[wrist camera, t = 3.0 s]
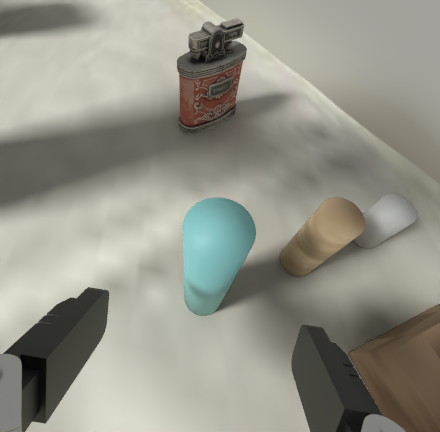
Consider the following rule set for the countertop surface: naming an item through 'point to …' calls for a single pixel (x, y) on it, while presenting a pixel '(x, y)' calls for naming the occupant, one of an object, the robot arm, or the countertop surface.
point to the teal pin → (214, 251)
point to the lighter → (210, 76)
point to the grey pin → (386, 220)
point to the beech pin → (322, 236)
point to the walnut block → (405, 372)
